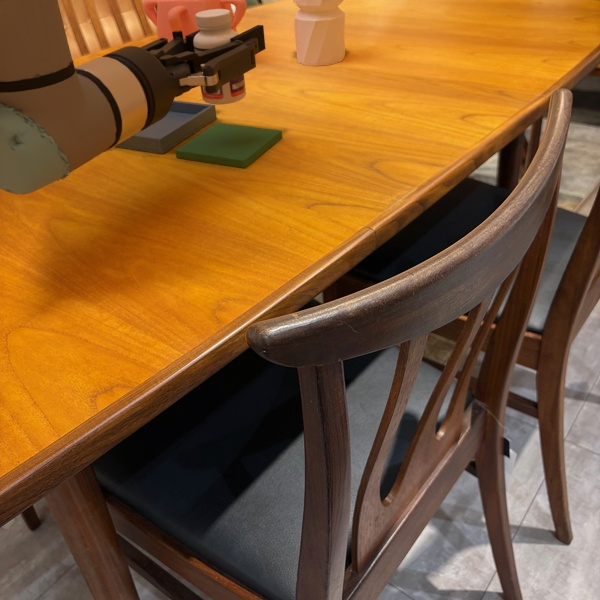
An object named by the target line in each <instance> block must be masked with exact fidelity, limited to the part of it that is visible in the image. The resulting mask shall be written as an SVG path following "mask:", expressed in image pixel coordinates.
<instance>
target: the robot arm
mask: <svg viewBox="0 0 600 600" xmlns="http://www.w3.org/2000/svg"><path fill="white" fill-rule="evenodd" d="M199 32H200V30H198V31H196V32H193V33H191V34H189V35H187V36H185V39H183V33H182V31H173V32H172V34H173V39H172V40H171V41H170V42H169V43H168V39H167V38H160V39H158V38H157V39H156V40H153V41H151V42H149V43H146V44H145V45H142V46H137V45H136V46H135V45H128V46H123V47H121V48H119V49H116V50H114V51H111V52H109V53H106V54H104V55H102V56H98V57H95V58H92V59H90V60H87V61H85V62H82V63H81V64H78V65H77V66H75V64H74V60H73V57H72V53H71V49H70V44H69V40H68V37H67V33H66V29H65V25H64V21H63V16H62V13H61V10H60V5H59V0H0V190H2V191H4V192H6V193H9V194H10V193H11V194H13V195H17V196H18V195H20V196H22V195H28V194H32V193H34V192H37V191H39V190H40V189H42V188H45V187H46V186H49V185H51V184H53V183H55V182H59V181H60V180H64V179H66V178H67V177H69V174H70V173H72V172H74V171H76V170H77V169H79V168H80V167H82V166H84V165H85V164H87V163H89V162H90V161H91V160H93V159H95V158H96V157H98V156H100V155H101V154H103V153H106V152H107V151H108V152H109V151H110V152H112V151H114V150H116V147H115V146H116V145H118V144H119V143H121V142H123V141H124V140H126V139H128V138H130V137H131V136H133V135H135V134H136V133H138V132H140V131H142V130H144V129H146V128H148V127H149V126H151V125H153V124H155V123H156V122H158V121H160V120H161V119H163V118H164V117H165V116H166V115H167V114H168V112H169V110H170V108H171V106H172V103H173V101H174V100H175V98H177V97H180V96H182V95H184V94H186V93H188V92H189V91H191V90H192V89H196V88H198V87H201V86H203V87H204V89H206V93H208V94H213V93H216V92H217V91H218V90H219V89H220V87H221V86H223V85H225V84H226V83H228V82H230V81H232V80H234V79H235V78H237V77H239V76H241V75H243V74H244V75H245V74H246V73H248V72H250V71H252V70H253V69H255V68H257V63H256V55H257V54H259V53H261V52H263V51H265V50H266V41H265V40H266V38H265V27H264V24H257V25H255V26H253V27H251V28H249V29H247V30H245V31H242V32H241V33H238V35H237V36H235V37H233V38H231V39H230V41H231V43H227V44H224V45H221V46H218V47H215V48H212V49H209V50H206V51H203V52H200V53H195V50H194V43H193V40H194V37H195V36H196V34H198V33H199Z"/></svg>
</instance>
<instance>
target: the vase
mask: <svg viewBox="0 0 600 600" xmlns="http://www.w3.org/2000/svg"><path fill="white" fill-rule="evenodd" d="M292 1H293V3H294V4H295V6H297V7H298V8H299V10H298V11H297V12H296V13H295V14H294V38H295V48H296V62H297V63H298V64H301V65H303V66H312V67H320V66H331V65H334V64H339V63H340V62H342V61H343V60H344V59H345V56H346V44H345V43H346V42H345V41H346V40H345V28H346V13H345V12H344V11H343V10H342V9H341V8H340V7H339V6H340V5H341V4H342V3H343V2H344V0H292Z"/></svg>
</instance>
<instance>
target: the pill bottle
mask: <svg viewBox="0 0 600 600" xmlns="http://www.w3.org/2000/svg"><path fill="white" fill-rule="evenodd" d="M195 16H196V23H197V28H198V29H199V30H200V32H199V33H198V34H196V36H195V37H194V40H193V43H194V50H195V53H200V52H203V51H206V50H209V49H212V48H215V47H218V46H221V45H224V44H227V43H231V41H230V39H231V38H233V37H235V36H237V35H239V33H238V31H237V30H236V31H237V32H236V31H234V30H232V29H231V28H230V25H231V24H232V23H231V22H232V20H231V14H230V11H229V10H227V9H212V10H206V11H201V12H198V13H197V14H196V15H195ZM246 89H247V88H246V81H245V73H244V74H243V75H241V76H239V77H237V78H235V79H234V80H232V81H230V82H228V83H226V84H225V85H223V86H221V87H220V89H219V90H218V91H217V92H216V93H213V94H208V93H206V89H204V87H203V86H200V92H201V97H202V100H203V101H204V102H205V103H206V104H211V105H215V106H217V105H221V106H222V105H229V104H233V103H236V102H240V101H241V100H243V99H245V97H246V95H247V90H246Z"/></svg>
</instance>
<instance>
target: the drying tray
mask: <svg viewBox="0 0 600 600" xmlns="http://www.w3.org/2000/svg"><path fill="white" fill-rule="evenodd" d="M216 109H217V108H216V105H215V104H210V103H201V102H192V101H183V100H176V99H174V101H173V103H172V106H171V108H170V110H169V112H168V114H167V115H166V116H165V117H164V118H163V119H161V120H160V121H158V122H156V123H155V124H153V125H151V126H149V127H148V128H146V129H144V130H142V131H140V132H138V133H136V134H135V135H133V136H131V137H130V138H128V139H126V140H124V141H123V142H121V143H119V144H118V145H116V146H115V148H120V149H128V150H133V151H141V152H147V153H153V154H159V155H164V154H166V153H167V152H168V151H170V150H172V149H173V148H175V147H176V146H178V145H179V144H181V143H182V142H183V141H185V140H186V139H188V138H190V137H191V136H193V135H194V134H196V133H197V132H199V131H201V130H202V129H203V128H205V127H206V126H208V125H209V124H211V123H212V122H214V121H215V120H217V117H218V116H217V110H216Z"/></svg>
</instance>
